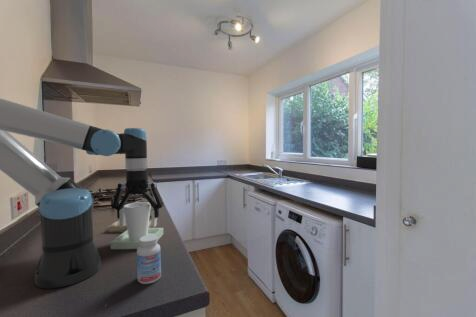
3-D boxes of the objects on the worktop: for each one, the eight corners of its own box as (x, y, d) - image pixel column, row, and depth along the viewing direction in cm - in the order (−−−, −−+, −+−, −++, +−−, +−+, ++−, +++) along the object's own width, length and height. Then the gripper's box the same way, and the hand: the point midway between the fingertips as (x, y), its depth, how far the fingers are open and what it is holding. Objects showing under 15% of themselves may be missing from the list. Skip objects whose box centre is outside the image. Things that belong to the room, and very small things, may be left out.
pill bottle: (141, 288, 58) (139, 244, 57) (134, 277, 62) (133, 237, 62) (164, 279, 61) (163, 238, 61) (157, 269, 66) (155, 232, 66)
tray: (150, 248, 80) (149, 241, 80) (110, 249, 80) (110, 242, 80) (163, 233, 94) (163, 227, 94) (129, 234, 94) (129, 228, 94)
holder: (144, 231, 96) (144, 226, 96) (108, 232, 96) (108, 226, 96) (158, 220, 112) (157, 215, 112) (126, 220, 112) (126, 215, 112)
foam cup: (119, 240, 85) (117, 206, 84) (140, 232, 93) (139, 200, 92) (136, 245, 81) (135, 209, 80) (156, 236, 89) (155, 203, 88)
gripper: (171, 168, 89) (172, 222, 90) (110, 168, 89) (113, 223, 90) (165, 170, 82) (166, 229, 83) (99, 170, 82) (101, 230, 83)
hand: (138, 226), depth 87 cm, fingers open, 11 cm apart
